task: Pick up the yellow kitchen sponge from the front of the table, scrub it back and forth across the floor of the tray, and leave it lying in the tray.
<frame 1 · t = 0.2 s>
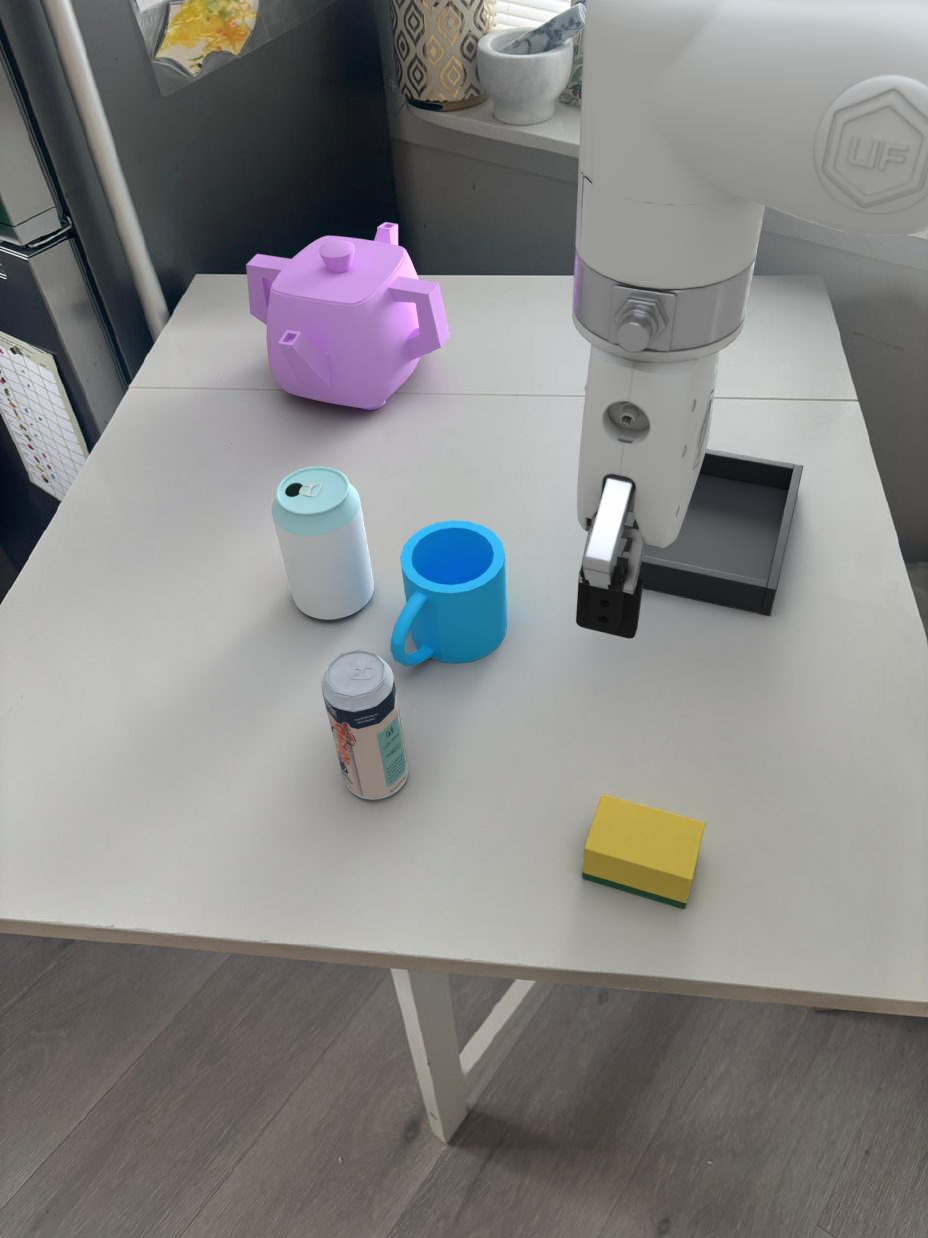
hand: (628, 567, 56), 22 cm above the table, tool pointing down, fingers open, 9 cm apart
can: (335, 596, 86), on the table
mug: (444, 641, 82), on the table
beer can: (377, 777, 73), on the table
sponge: (640, 865, 67), on the table
teapot: (356, 378, 109), on the table
tray: (706, 534, 89), on the table
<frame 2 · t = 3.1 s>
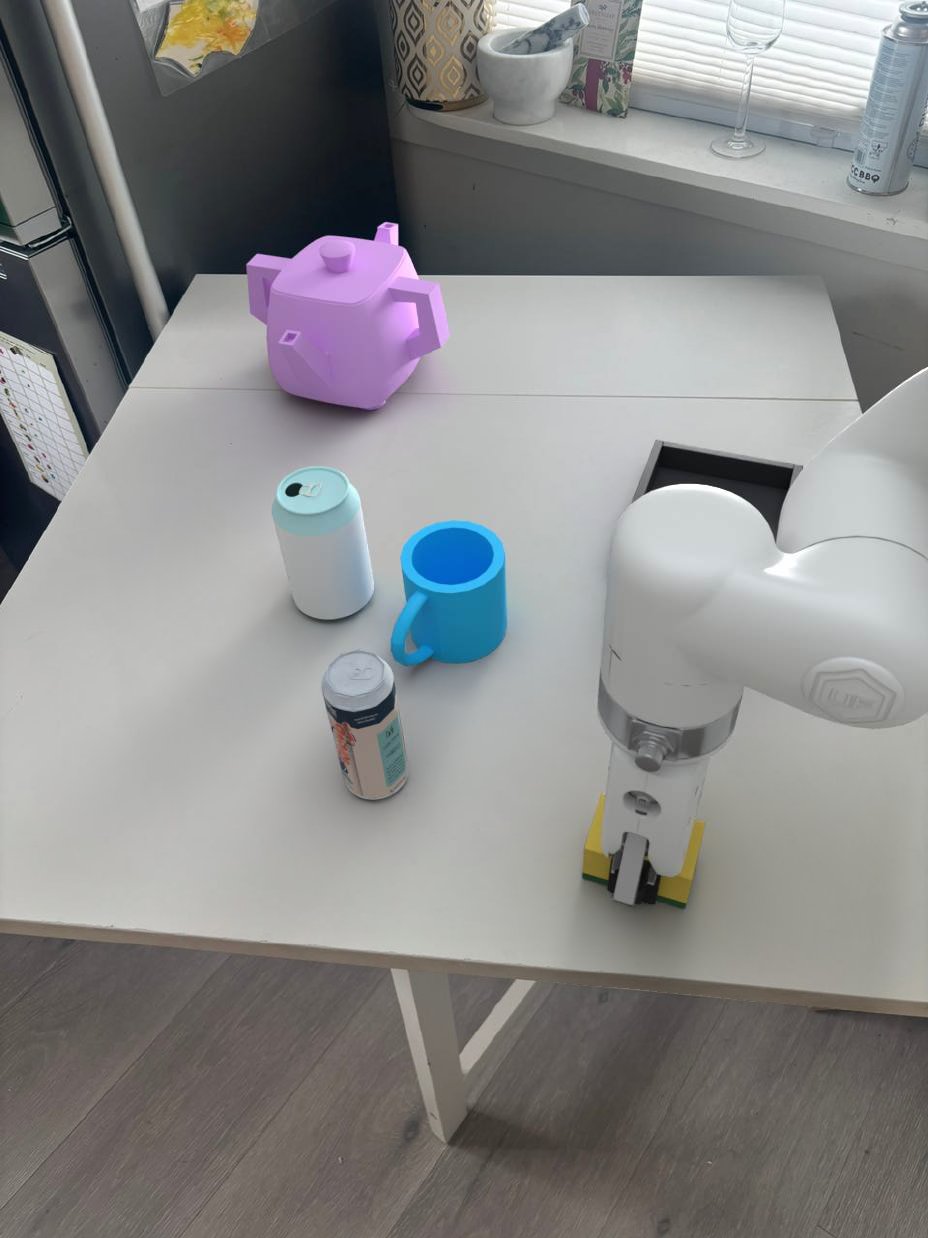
hand: (641, 860, 67), 1 cm above the table, tool pointing down, fingers closed on sponge, 4 cm apart
sponge: (640, 865, 67), on the table, touching gripper
everything else where it was.
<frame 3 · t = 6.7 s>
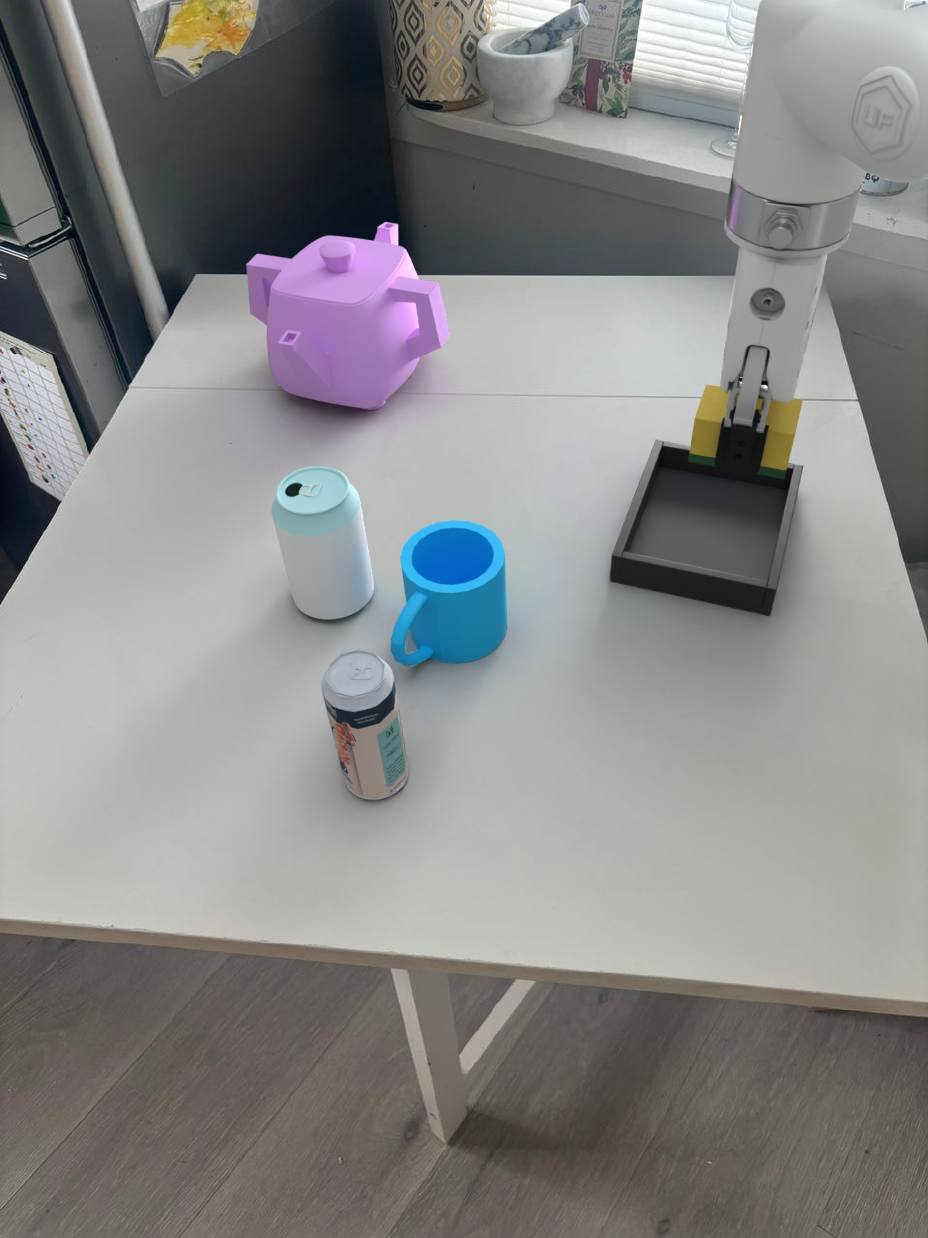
hand: (742, 444, 74), 15 cm above the table, tool pointing down, fingers closed on sponge, 4 cm apart
sponge: (740, 452, 74), point 14 cm above the table, touching gripper
everything else where it was.
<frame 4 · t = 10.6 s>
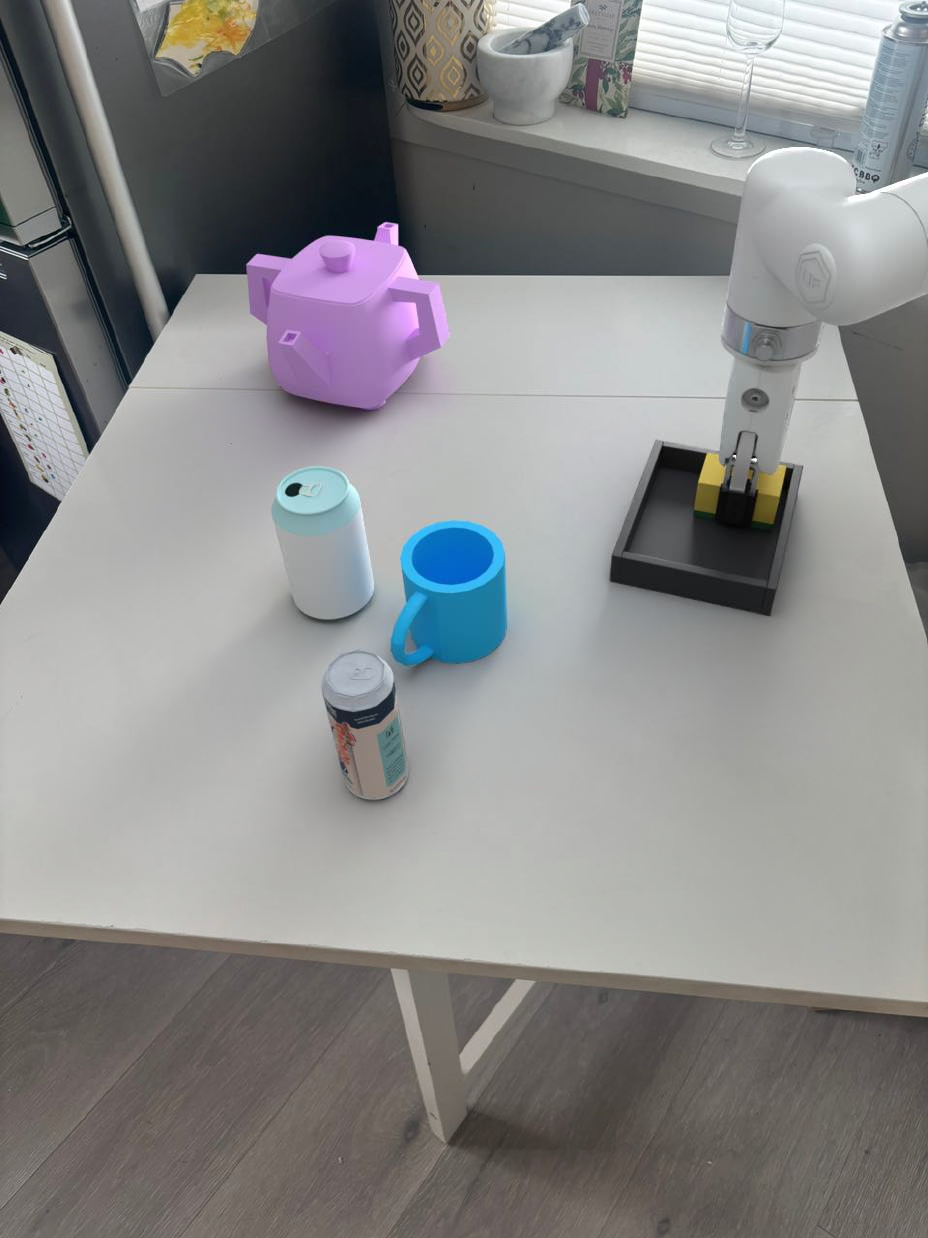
hand: (737, 502, 90), 1 cm above the table, tool pointing down, fingers closed on sponge, 4 cm apart
sponge: (735, 508, 90), point 1 cm above the table, touching gripper, tray
everything else where it was.
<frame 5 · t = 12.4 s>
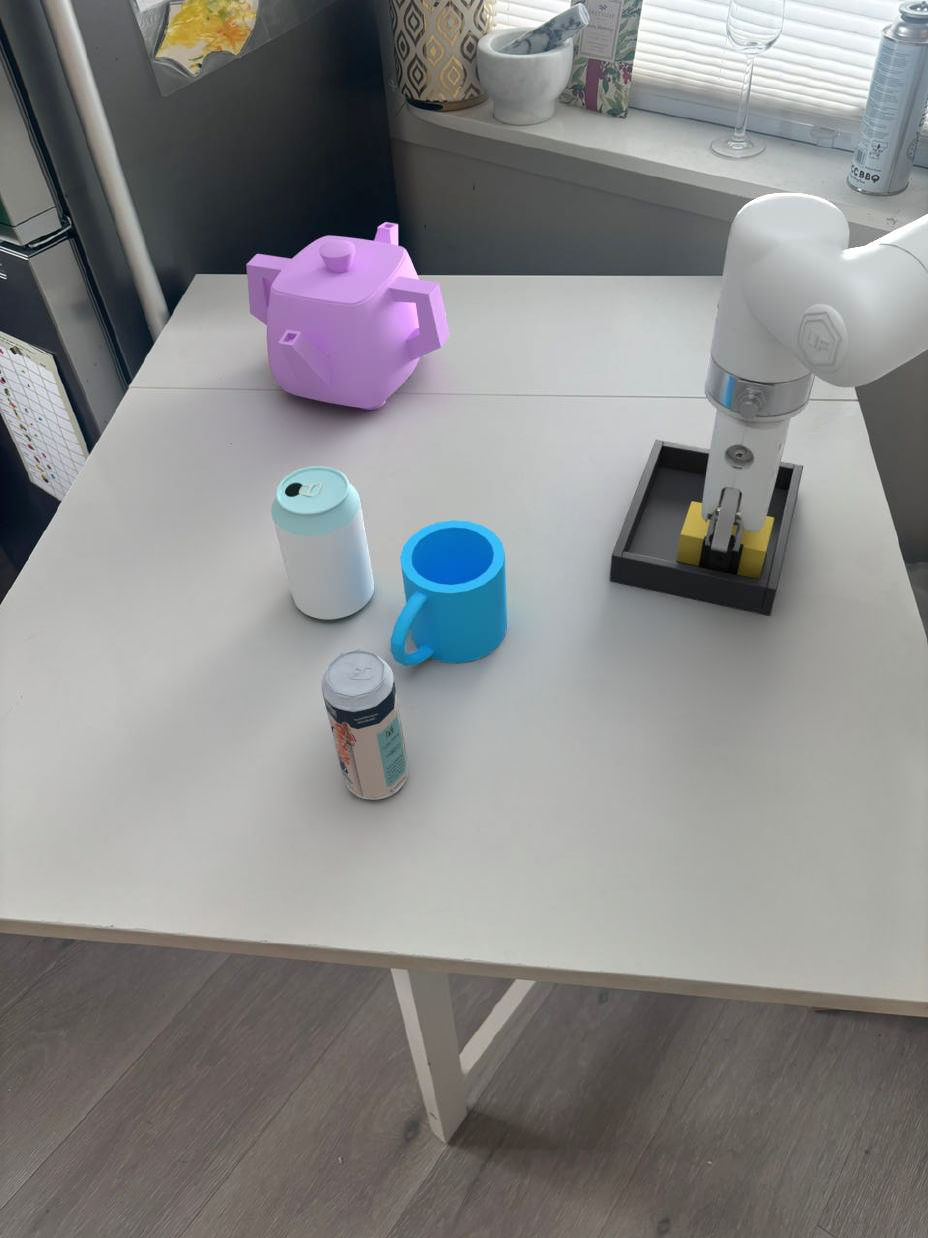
hand: (722, 554, 85), 1 cm above the table, tool pointing down, fingers closed on sponge, 4 cm apart
sponge: (720, 559, 86), point 1 cm above the table, touching gripper
everything else where it was.
when the fingers open (1 cm above the table, at t = 15.5 s): sponge stays where it is, resting on tray.
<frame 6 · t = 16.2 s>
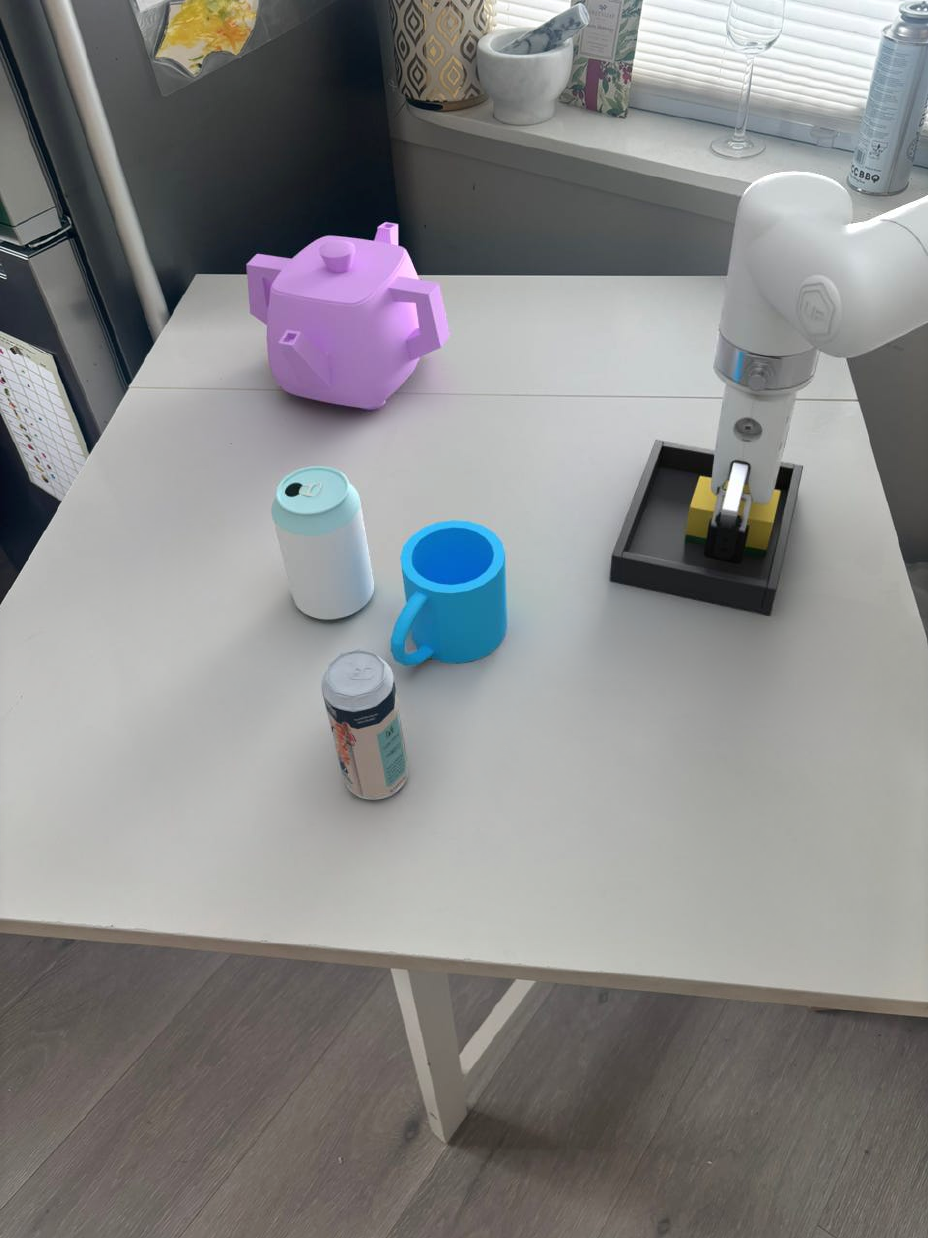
hand: (732, 521, 87), 2 cm above the table, tool pointing down, fingers open, 9 cm apart
sponge: (728, 533, 88), point 1 cm above the table, touching tray
everything else where it was.
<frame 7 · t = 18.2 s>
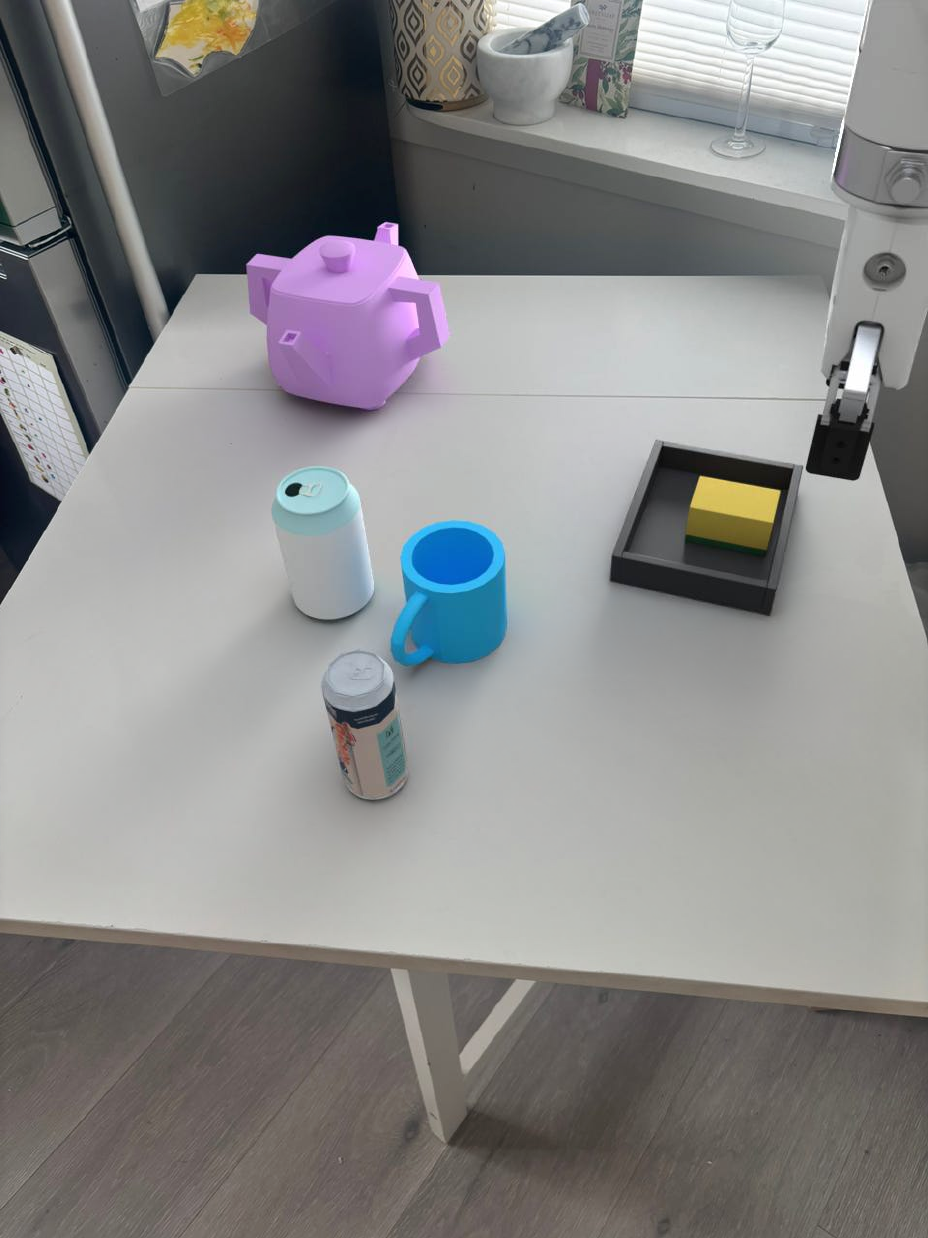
hand: (841, 428, 64), 21 cm above the table, tool pointing down, fingers open, 9 cm apart
nothing on the table moved.
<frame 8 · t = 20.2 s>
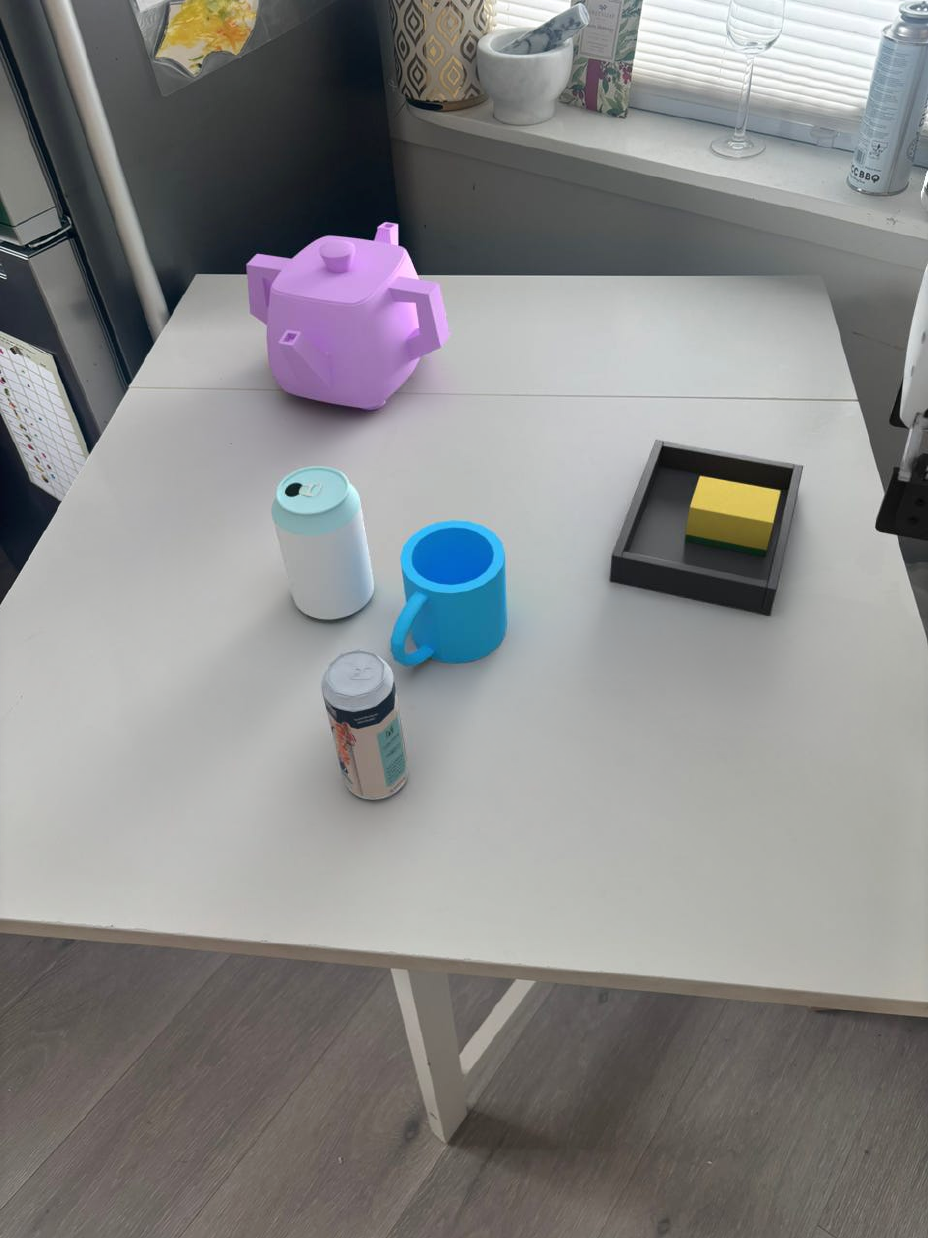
hand: (910, 477, 56), 24 cm above the table, tool pointing down, fingers open, 9 cm apart
nothing on the table moved.
at the end: sponge inside the target area in the tray (1.9 cm from its centre), point 0.6 cm above the tray's base; sponge touching tray; the gripper is holding nothing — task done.
